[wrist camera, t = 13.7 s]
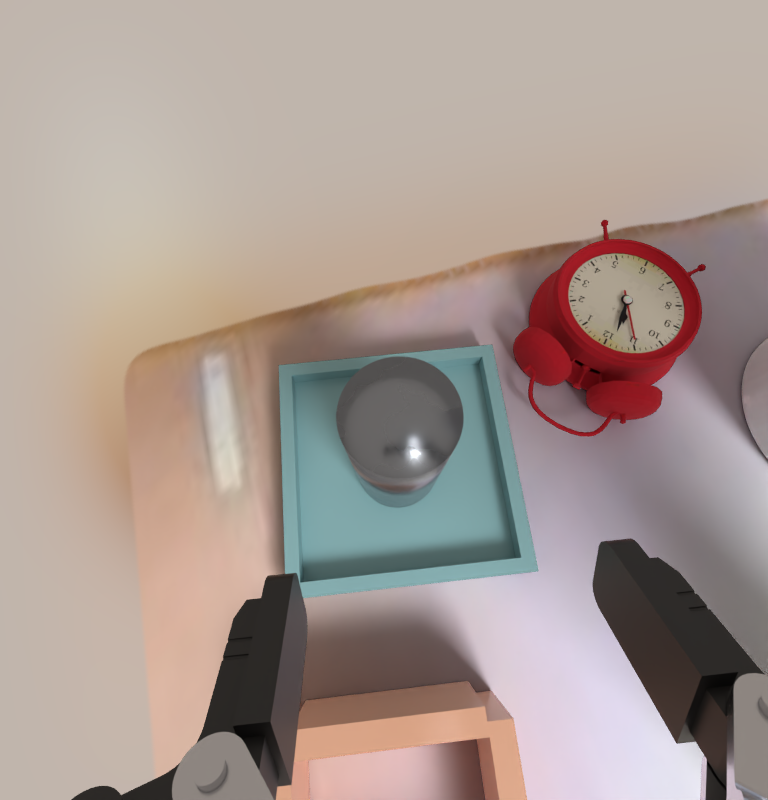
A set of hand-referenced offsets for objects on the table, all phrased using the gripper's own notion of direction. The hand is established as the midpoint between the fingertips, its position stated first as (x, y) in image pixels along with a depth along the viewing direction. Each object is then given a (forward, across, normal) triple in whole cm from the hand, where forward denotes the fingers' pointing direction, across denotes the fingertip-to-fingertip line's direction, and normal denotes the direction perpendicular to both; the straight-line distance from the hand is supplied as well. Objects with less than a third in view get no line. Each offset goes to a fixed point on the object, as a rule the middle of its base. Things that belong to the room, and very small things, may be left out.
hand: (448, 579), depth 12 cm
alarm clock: (+21, -14, +2) cm, 25 cm away
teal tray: (+15, 0, +7) cm, 17 cm away
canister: (+15, 0, +6) cm, 16 cm away
